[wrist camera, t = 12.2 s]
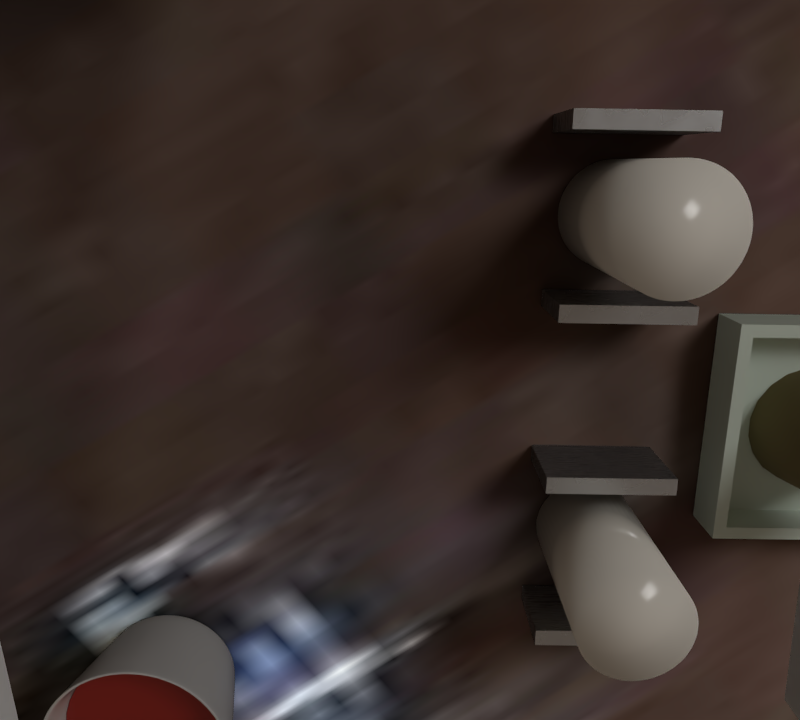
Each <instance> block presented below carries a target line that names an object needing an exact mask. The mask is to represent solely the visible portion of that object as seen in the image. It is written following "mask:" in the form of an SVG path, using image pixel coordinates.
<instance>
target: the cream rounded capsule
mask: <svg viewBox="0 0 800 720" xmlns="http://www.w3.org/2000/svg"><path fill="white" fill-rule="evenodd" d="M536 533H537V537H538V541H539V543H540V546H541V549H542V551H543V554H544V557H545V559H546V562H547V565H548V567H549V570H550V573H551V576H552V578H553V581H554V584H555V586H556V589H557V592H558V594H559V597H560V600H561V603H562V605H563V608H564V611H565V613H566V616H567V619H568V621H569V624H570V627H571V630H572V632H573V635H574V638H575V640H576V643H577V646H578V648H579V651H580V653H581V655H582V656H583V658H584V659H585V660H586V662H587V663H588V664H589V665H590V666H591V667H593V668H594V669H595V670H596V671H598V672H600V673H601V674H603V675H605V676H608V677H610V678H614V679H618V680H623V681H640V680H647V679H650V678H654V677H657V676H659V675H662V674H664V673H666V672H668V671H669V670H671V669H672V668H674V667H675V666H676V665H678V664H679V663H680V662H681V661H682V660H683V659H684V658H685V657H686V656H687V654H688V653H689V651H690V650H691V648H692V646H693V644H694V642H695V639H696V637H697V632H698V623H699V622H698V614H697V610H696V607H695V604H694V602H693V600H692V599H691V597H690V596H689V594H688V593H687V591H686V590H685V588H684V587H683V585H682V584H681V582H680V581H679V579H678V578H677V576H676V575H675V573H674V572H673V570H672V569H671V567H670V566H669V564H668V563H667V561H666V560H665V558H664V557H663V555H662V554H661V552H660V551H659V549H658V548H657V547H656V545H655V544H654V542H653V541H652V539H651V538H650V536H649V535H648V533H647V532H646V530H645V529H644V527H643V526H642V524H641V523H640V521H639V520H638V518H637V517H636V515H635V514H634V512H633V511H632V509H631V508H630V506H629V505H628V503H627V502H626V500H625V499H624V498H623V496H622V495H606V494H551V495H550V496H549V497H548V498H547V499H546V500H545V502H544V503H543V505H542V506H541V508H540V510H539V513H538V516H537V521H536Z"/></svg>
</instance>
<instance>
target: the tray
mask: <svg viewBox="0 0 800 720" xmlns="http://www.w3.org/2000/svg"><path fill="white" fill-rule="evenodd" d="M799 370H800V315H775V314H719V317H718V325H717V332H716V340H715V348H714V356H713V363H712V371H711V379H710V387H709V394H708V402H707V410H706V418H705V425H704V433H703V441H702V449H701V456H700V464H699V472H698V480H697V488H696V495H695V503H694V511H693V516H694V517H695V518H696V519H697V521H698V522H699V523H700V524H701V525H702V527H703V528H704V529H705V530H706V531H707V532H708V534H709V535H710V536H711V537H712V538H715V539H786V540H800V489H799V488H797V487H795V486H793V485H791V484H789V483H787V482H785V481H784V480H782V479H780V478H778V477H776V476H775V475H773V474H772V473H770V472H769V471H768V470H766V469H765V468H763V467H762V466H761V464H760V463H759V462H758V460H757V459H756V457H755V456H754V454H753V453H752V449H751V445H750V441H749V437H748V434H749V424H750V417H751V415H752V413H753V410H754V408H755V406H756V403H757V401H758V400H759V399H760V397H761V396H762V395H763V394H764V393H765V392H766V390H767V389H768V388H769V387H770V386H771V385H772V384H774V383H775V382H777V381H778V380H780V379H781V378H783V377H784V376H786V375H787V374H790V373H793V372H796V371H799Z"/></svg>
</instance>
